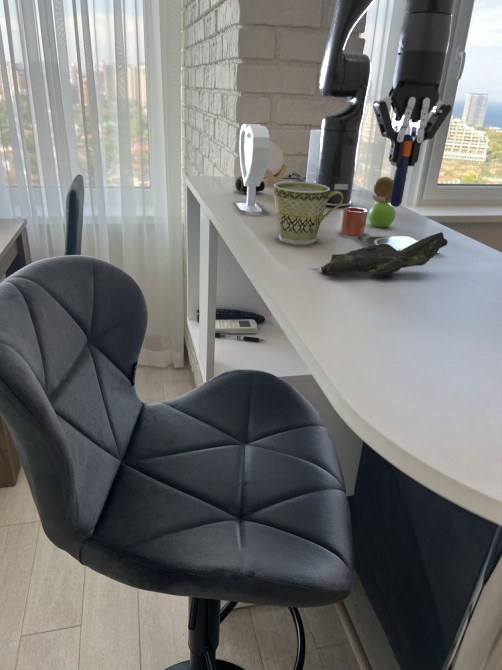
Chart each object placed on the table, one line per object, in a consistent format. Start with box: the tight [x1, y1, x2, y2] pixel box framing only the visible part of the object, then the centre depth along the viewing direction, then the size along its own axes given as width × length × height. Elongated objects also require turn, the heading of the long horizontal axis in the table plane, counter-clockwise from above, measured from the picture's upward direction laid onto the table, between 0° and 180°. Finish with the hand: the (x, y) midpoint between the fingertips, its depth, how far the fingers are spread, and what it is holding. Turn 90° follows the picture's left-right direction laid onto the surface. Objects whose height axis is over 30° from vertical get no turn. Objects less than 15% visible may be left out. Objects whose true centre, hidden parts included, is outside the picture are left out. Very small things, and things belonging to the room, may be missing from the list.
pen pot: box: [340, 206, 369, 237], centre depth 99 cm, size 4×5×5 cm
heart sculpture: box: [235, 123, 271, 213], centre depth 113 cm, size 16×5×18 cm, turn 11°
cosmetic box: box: [305, 129, 321, 183], centre depth 145 cm, size 8×7×16 cm
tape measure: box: [234, 176, 266, 195], centre depth 134 cm, size 7×7×4 cm
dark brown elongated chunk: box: [320, 231, 449, 279], centre depth 78 cm, size 6×6×20 cm
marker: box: [389, 133, 413, 208], centre depth 87 cm, size 2×2×12 cm
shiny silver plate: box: [356, 235, 440, 255], centre depth 94 cm, size 11×11×1 cm
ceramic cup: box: [273, 180, 344, 245], centre depth 92 cm, size 13×10×10 cm
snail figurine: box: [367, 170, 409, 229], centre depth 104 cm, size 5×6×12 cm
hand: (402, 165), depth 86 cm, fingers closed on marker, 2 cm apart
